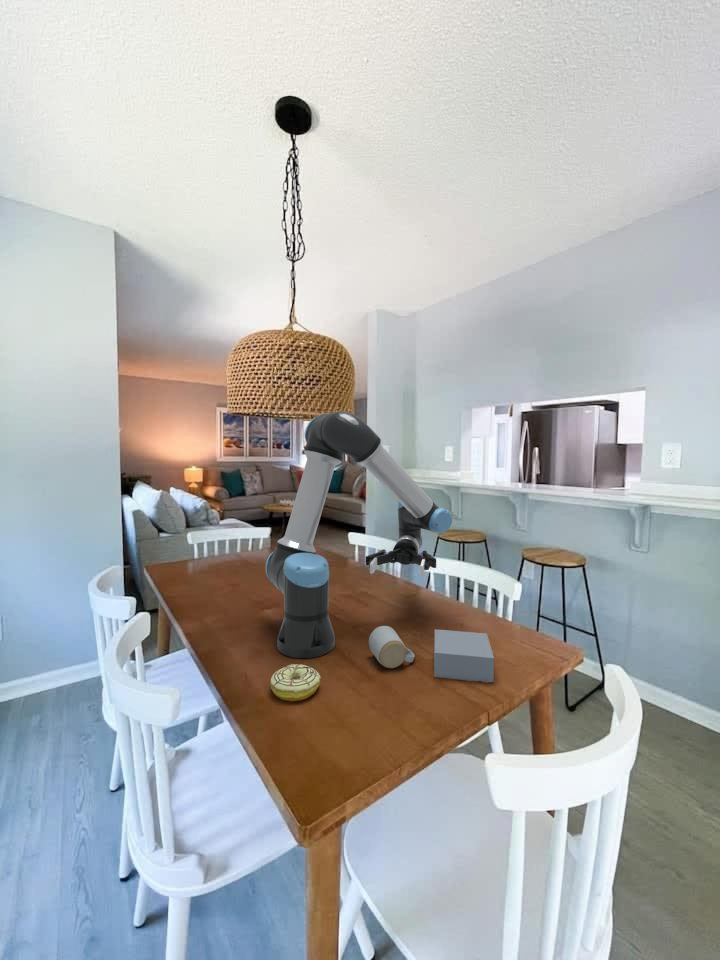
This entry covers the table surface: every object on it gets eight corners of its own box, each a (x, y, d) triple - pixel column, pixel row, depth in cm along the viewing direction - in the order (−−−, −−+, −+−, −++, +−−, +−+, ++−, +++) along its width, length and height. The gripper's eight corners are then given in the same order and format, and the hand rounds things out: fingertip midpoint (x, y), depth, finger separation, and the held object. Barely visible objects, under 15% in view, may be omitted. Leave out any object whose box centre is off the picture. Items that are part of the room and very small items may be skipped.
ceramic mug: (379, 672, 96) (380, 640, 96) (367, 656, 104) (368, 626, 103) (420, 667, 99) (421, 635, 99) (406, 651, 107) (407, 622, 107)
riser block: (434, 678, 94) (434, 652, 94) (434, 651, 107) (434, 629, 107) (493, 684, 92) (494, 658, 92) (486, 656, 105) (486, 633, 105)
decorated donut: (323, 677, 94) (323, 661, 94) (316, 705, 83) (316, 687, 83) (277, 675, 95) (278, 659, 94) (265, 703, 84) (265, 685, 84)
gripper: (446, 563, 128) (443, 586, 108) (368, 560, 134) (351, 581, 114) (446, 539, 127) (443, 557, 107) (367, 537, 133) (350, 554, 113)
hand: (396, 570), depth 110 cm, fingers open, 13 cm apart
